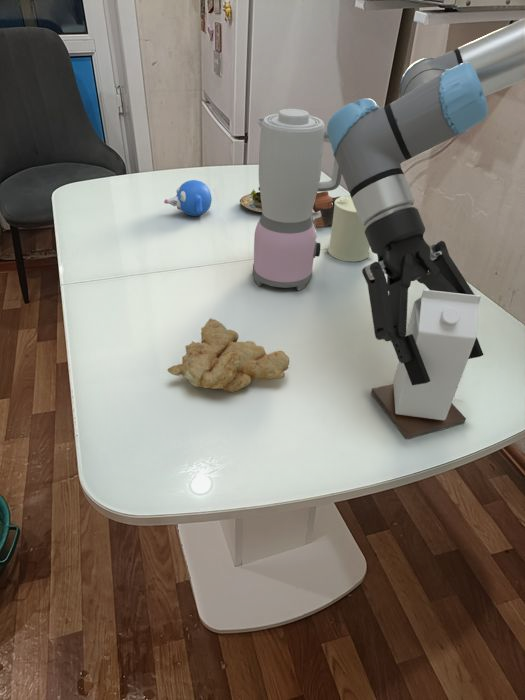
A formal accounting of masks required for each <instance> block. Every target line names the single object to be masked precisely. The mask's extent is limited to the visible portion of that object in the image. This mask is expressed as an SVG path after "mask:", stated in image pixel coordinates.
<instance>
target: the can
mask: <svg viewBox="0 0 525 700" xmlns="http://www.w3.org/2000/svg"><path fill="white" fill-rule="evenodd" d="M338 197H339V198H337V199H336V200H335V202H334V214H333V222H332V225H331V232H330V237H329V238H330V239H329V243H328V244H329V245H328V248H327V251H328V254H329V255H330V256H331V257H332V258H334V259H335V260H338V261H343V262H348V263H355V262H356V263H357V262H361V261H364V260H366V259H367V258H368V257H369V255H370V245H369V243H368V240H367V238H366V235H365V229H366V228H367V226H364V225H362V224H361V222H360V219H359V216H358V214H357V211H356V209H355V206H354V204H353V201H352V198H351V196H350V195H343V196H338Z"/></svg>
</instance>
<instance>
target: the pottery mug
mask: <svg viewBox="0 0 525 700" xmlns="http://www.w3.org/2000/svg"><path fill="white" fill-rule="evenodd" d="M339 197H340V196H336V197H335V196H334V197H332V196H330V195H329V191H321V192H317V195H316V199H315V203H314V206H313V210H312V211H313V212H314V213H315V214H316V213H318V212H320V214H321V215H320V216H318V217H316V218H313V223H314V227H315V229H316V228H322V227H326V226H332V222H333V214H334V202H335V200H336V199H337V198H339Z"/></svg>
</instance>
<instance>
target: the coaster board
mask: <svg viewBox="0 0 525 700" xmlns="http://www.w3.org/2000/svg"><path fill="white" fill-rule="evenodd" d="M370 393H371V395H372V396H373V398H374V399H375V400H376V401H377V403H378V405H379V406H380V407H381V408H382V410H383V411H384V413H386V415H387V416H388V417H389V419H390V420H391V421H392V423H393V424H394V426H395V427H396V428H397V429H398V431H399V432H400V433H401V435H403V437H404V438H405V440H408V439H412V438H415V437H419V436H424V435H426V434H430V433H434V432H438V431H441V430H445V429H449V428H452V427H456V426H459V425H463V424H465V423H466V420H467V417H466V416H465V415H464V414H463V413H462V412H461V411H460V410H459V409H458V408H457V407H456V406H455V405H454V403H452V404H451V406H450V409H449V412H448V414H447V417H446V419H445V420H437V419H429V418H422V417H414V416H407V415H399V414H396V413H395V400H394V386H393V383H389V384H386V385H381V386H376V387H372V388H371V392H370Z"/></svg>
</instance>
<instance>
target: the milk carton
mask: <svg viewBox="0 0 525 700" xmlns="http://www.w3.org/2000/svg"><path fill="white" fill-rule="evenodd" d="M481 299H482V296H481V295H477V294H475V295H469V294H460V293H450V292H441V291H432V290H429V289H423V290H422V294H421V296H420V297H419V298H417V299H416V300H414V301H413V302H414V303H413V305H412V310H411V313H410V315H409V316H410V317H409V321H408V323H407V327H406V335H405V336H407V335H411V334H412V335H413V337H414V340H415V342H416V345H417V347H418V350H419V353H420V355H421V358H422V360H423V363H424V365H425V368H426V371H427V373H428V376H429V378H430V382H428V383H424V384H418V385H412V383H411V381H410V378H409V376H408V373H407V371H406V368H405V365H404V363H401V362H400V361H399V360H398V361H397V364H396V370H395V372H394V376H393V382H392V384H393V386H394V400H395V413H396V414H399V415H407V416H414V417H422V418H429V419H437V420H445V419H446V417H447V414H448V412H449V409H450V406H451V404H453V401H454V398H455V395H456V393H457V390H458V387H459V385H460V382H461V379H462V377H463V374H464V372H465V369H466V367H467V364H468V361H469V360H470V359H469V356H470V353H471V351H472V348H473V345H474V342H475V340H476V337H477V335H478V319H479V305H480V302H481Z"/></svg>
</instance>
